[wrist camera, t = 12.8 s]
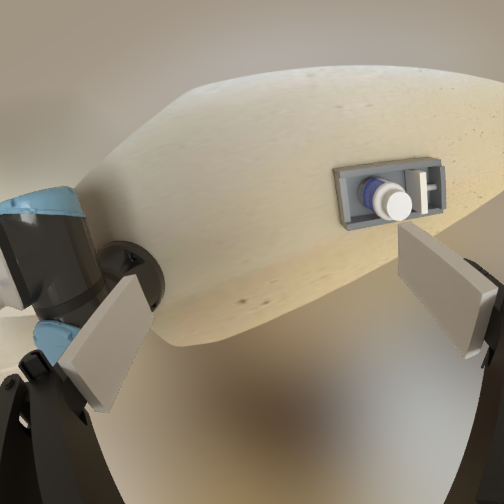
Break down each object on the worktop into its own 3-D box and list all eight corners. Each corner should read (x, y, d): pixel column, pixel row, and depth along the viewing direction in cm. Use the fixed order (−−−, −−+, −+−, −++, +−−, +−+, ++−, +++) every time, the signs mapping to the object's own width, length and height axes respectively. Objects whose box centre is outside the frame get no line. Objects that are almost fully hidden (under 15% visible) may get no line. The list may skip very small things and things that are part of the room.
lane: (340, 223, 45) (349, 233, 41) (333, 168, 42) (341, 172, 37) (431, 207, 43) (446, 214, 39) (428, 157, 40) (444, 160, 35)
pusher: (407, 206, 42) (421, 214, 38) (404, 168, 40) (419, 172, 35) (429, 202, 42) (445, 210, 37) (427, 165, 39) (443, 170, 35)
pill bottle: (358, 210, 43) (381, 229, 34) (356, 176, 41) (380, 188, 32) (388, 206, 43) (416, 224, 34) (386, 173, 41) (416, 185, 32)
